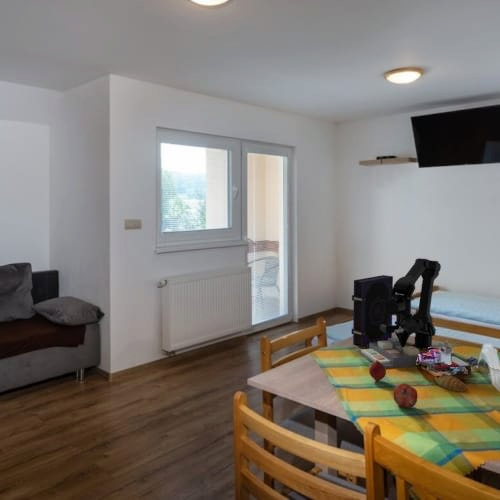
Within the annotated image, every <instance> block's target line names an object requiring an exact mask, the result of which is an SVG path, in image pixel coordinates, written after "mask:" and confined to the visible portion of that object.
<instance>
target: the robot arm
mask: <svg viewBox="0 0 500 500" xmlns="http://www.w3.org/2000/svg"><path fill="white" fill-rule="evenodd" d="M441 270H442V266H441V263H439V261H438V260H431V259H428V258H421V257H419V258H418V257H417V258H416V259H415V261H414V263H413V265H411V268H410V269H409V270H408V272H407V273H406V274H405V275H404V276H402V277H400V278H398V279H397V281H395V283H393V289H392V292H391V295H390V297H391V298H390V301H388V302H387V303H386V306H385V309H386V311H387V312H388V313H389V314H391V315H392V316H393V315H395V316H396V320H395V321H394V325H393V324H392V325H391V324H389V323H385V324H381V325H380V330H381V331H383V332H384V333H392V334H395V335H396V338H398V340H399V342H400V345H401V347H402V348H403V347H405V345H406V344H407V343H408V340H409V338H410V336H411V335H413V334H415V336H414V344H413V345H412V346H414V347H415V348H417V347H418V348H417V349H419V348H421V349H420V350H424V349H423V348H428V347H430V346H432V347H433V337H435V336H436V331H437V329H436V328H435V326H434V324H433V322H434V321H433V317H432V315H431V305H432V297H433V291H434V282H435V281H436V279H437V278H438V277H439V276H440V271H441ZM420 277H421V278H422V280H421V288H420V296H419V302H418V303H419V304H418V310H417V312H416V313H412V300H413V298H414V297H413V295H414V292H415V290H416V283H417V281H418V280H419V278H420ZM392 297H393V298H392ZM406 346H407V345H406Z"/></svg>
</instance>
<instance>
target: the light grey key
mask: <svg viewBox="0 0 500 500" xmlns="http://www.w3.org/2000/svg"><path fill="white" fill-rule="evenodd" d="M378 347H379V348H381V349H392V343H391V342H389V341H388V340H382V341H378Z"/></svg>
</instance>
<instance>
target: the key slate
mask: <svg viewBox="0 0 500 500" xmlns="http://www.w3.org/2000/svg"><path fill="white" fill-rule="evenodd" d="M387 341H389V342H391V343H392V346H401V345H400V342H399V340H398V337H391V338H388V339H387Z"/></svg>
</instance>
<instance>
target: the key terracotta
mask: <svg viewBox="0 0 500 500" xmlns="http://www.w3.org/2000/svg"><path fill="white" fill-rule="evenodd" d="M385 351H386V352H387V353H389V354H398V353H400V352H398V351H396V350H385Z"/></svg>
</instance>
